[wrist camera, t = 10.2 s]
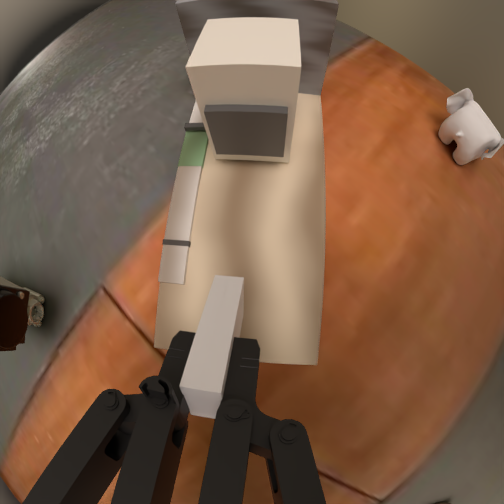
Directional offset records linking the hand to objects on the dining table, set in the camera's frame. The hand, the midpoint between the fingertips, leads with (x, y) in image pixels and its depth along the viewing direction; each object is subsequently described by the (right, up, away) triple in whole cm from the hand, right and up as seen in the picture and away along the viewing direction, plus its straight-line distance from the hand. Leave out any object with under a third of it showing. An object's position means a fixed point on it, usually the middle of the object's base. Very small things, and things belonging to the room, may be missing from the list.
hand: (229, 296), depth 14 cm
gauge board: (+1, +8, +8) cm, 11 cm away
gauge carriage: (0, +13, +7) cm, 15 cm away
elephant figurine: (+26, +15, +9) cm, 31 cm away
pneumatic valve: (-22, -4, +7) cm, 23 cm away
